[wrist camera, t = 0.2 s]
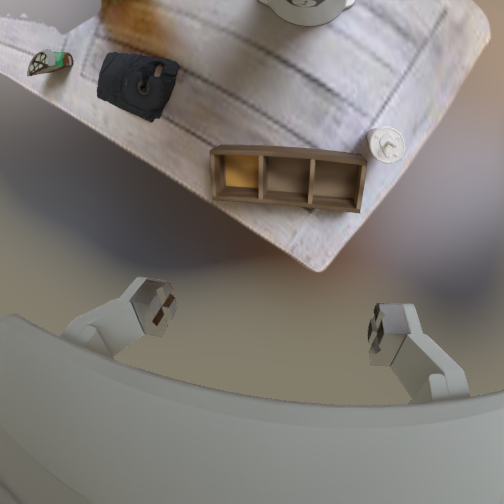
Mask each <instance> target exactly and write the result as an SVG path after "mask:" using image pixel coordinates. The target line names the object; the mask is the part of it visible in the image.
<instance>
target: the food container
mask: <svg viewBox="0 0 504 504" xmlns="http://www.w3.org/2000/svg"><path fill="white" fill-rule="evenodd" d="M71 65H73V58H72V56H71V54H69V53H65V52H52V51H51V50H48V49H47V50H43V51H41V52H39V53H37V54H36V55H35V56H34V57H33V59H32V60H31V62H30V64H29V67H28V71H27V76H32V75H37V74H43V73H50V72H55V71H58V70H60V69H63V68H66V67H68V66H71Z"/></svg>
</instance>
